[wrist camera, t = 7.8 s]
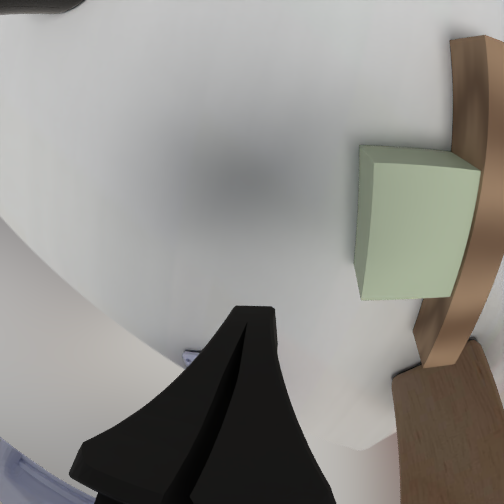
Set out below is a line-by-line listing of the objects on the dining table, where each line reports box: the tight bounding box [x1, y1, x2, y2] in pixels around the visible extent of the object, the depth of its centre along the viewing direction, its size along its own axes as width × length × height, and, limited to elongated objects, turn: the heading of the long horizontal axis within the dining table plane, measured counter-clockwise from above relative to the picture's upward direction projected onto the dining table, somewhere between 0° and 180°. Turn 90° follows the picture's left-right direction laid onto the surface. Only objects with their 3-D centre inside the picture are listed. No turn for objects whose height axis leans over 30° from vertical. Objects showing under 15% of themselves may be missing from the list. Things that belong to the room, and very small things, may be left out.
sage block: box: [354, 145, 481, 300], centre depth 15 cm, size 8×6×4 cm
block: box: [392, 340, 504, 504], centre depth 17 cm, size 10×10×20 cm
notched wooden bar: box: [413, 35, 504, 368], centre depth 14 cm, size 22×3×4 cm, turn 7°
